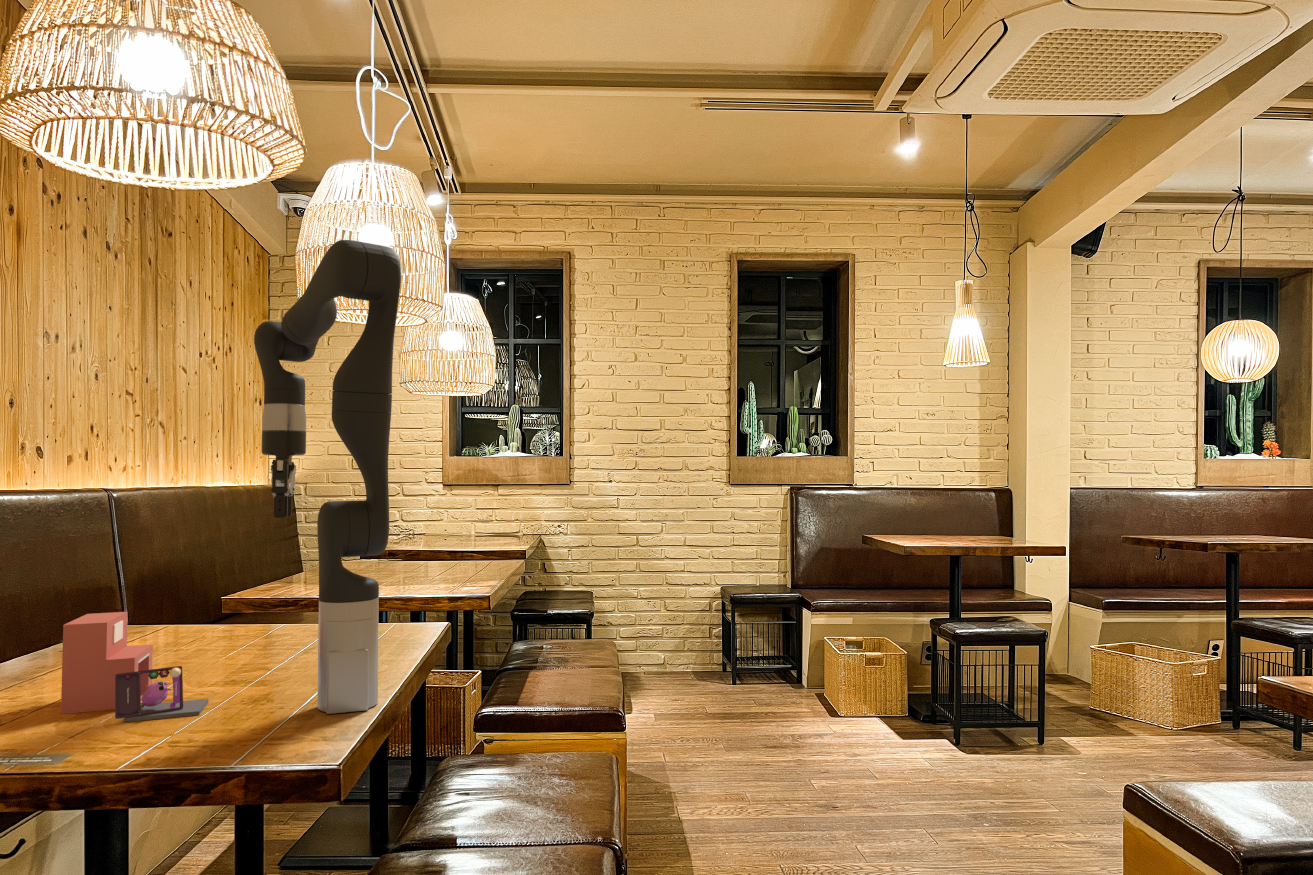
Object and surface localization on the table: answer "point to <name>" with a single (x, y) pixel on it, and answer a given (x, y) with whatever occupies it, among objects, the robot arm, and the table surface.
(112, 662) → the dispenser
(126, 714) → the boxed purple toy
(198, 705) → the mat
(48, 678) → the table surface
